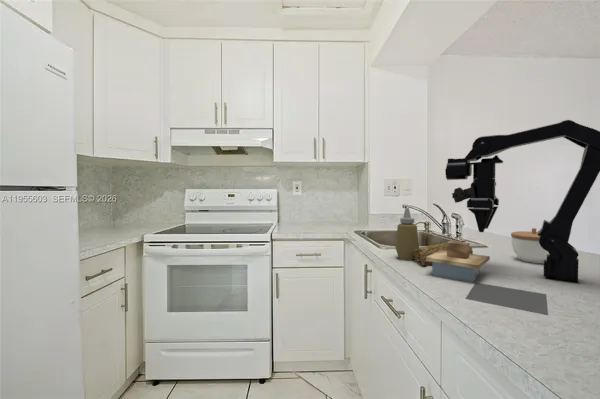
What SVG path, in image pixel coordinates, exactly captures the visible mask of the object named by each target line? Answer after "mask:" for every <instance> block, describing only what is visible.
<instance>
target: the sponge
mask: <svg viewBox="0 0 600 399" xmlns="http://www.w3.org/2000/svg"><path fill="white" fill-rule="evenodd" d="M440 250H446V251H447V242H445V243H444V242H440V243H437V244H428V245H425V246H422V247H419V249H415V251H414V256H415V258H416V259H415V260H417V261H418V262H419V263H420V264H421V265H422V266H425V267H426V266H427V267H428V266H432V262H431V261H426V257H427V256H429V255H431V254H434V253H436V252H438V251H440ZM473 251H474V250H473V247H471V246H470V245H469V254H474V252H473Z"/></svg>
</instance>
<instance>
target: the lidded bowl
mask: <svg viewBox="0 0 600 399" xmlns="http://www.w3.org/2000/svg"><path fill="white" fill-rule="evenodd" d="M537 232H538V231H537V228H535V227H532V228H531V231H512V232H511V233H510V235H511V246H512V249H513V252H514V254H516V256H517V257H518V258H519V259H520V261H523V262H527V263H533V264H544V260H547V254H548V255H550V254H549V252H548V251H546V250H544V249H543V248H542V247H541V245H540V244H539V236H538V233H537Z"/></svg>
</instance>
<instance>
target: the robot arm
mask: <svg viewBox="0 0 600 399" xmlns="http://www.w3.org/2000/svg"><path fill="white" fill-rule="evenodd" d="M561 138H564V139H565V140H568V141H569V142H572V143H573V144H575V145H577V146H579V147H581V148H583V152H582V156H581V162H580V165H579V169H578V171H577V173H576V175H575V176H574V179H573V181H572V182H571V184H570V186H569V189H568V190H567V191H566V195H565V196H564V198H563V201H562V202H561V204H560V206H559V208H558V209H557V212H556V214H555V215H554V216H553V218H551V220H550V221H548V220H546V219H544V220H543V221H542V224H541V228H540V229H539V230H538V231H536V232H537V233H538V236H539V244H540V245H541V247H542V248H543V249H544V250H546V251H548V252H549V254H550V255H548V254H547V260H544V263H543V276H544V277H545V279H546V280H551V281H558V282H565V283H572V284H580V281H579V260H580V259H579V258H578V257H579V255H580V254H579V253H578V251H577V249H576V247H574V246H573V245H572V244H570V242H569V240H570V236H571V233H572V226H573V223H574V221H575V218H576V216H577V215H578V213H579V211H580V209H581V208H582V206H583V204H584V202H585V200H586V198H587V197H588V194H589V193H590V191H591V189H592V187H593V185H594V183H595V182H596V180H597V178H598V176H599V175H600V130H597V129H595V128H592V127H590V126H586V125H583V124H579V123H577V122H576V121H573V120H571V119H565V120H562V121H560V122H556V123H553V124H552V123H551V124H548V125H543V126H539V127H536V128H531V129H527V130H522V131H517V132H514V133H510V134H497V135H496V134H493V135H483V136H479V137H477V138H476V139H475V140H474V141H473V142H472V147H471V149H470V151H469V152H468V153H467V155H465V156H464V158H447V163H446V167H445V178H446V180H447V181H453V180H456V181H458V180H461V181H462V180H468V177H471V176H473V177H472V182H471V183H470V187H468V188H465V189H463V188H462V187H457V188H454V190H453V192H452V193H451V194H452V195H451V197H452V198H453V200H454V203H455V204H457V203H460V202H463V201H465V200H467V201H466V208H468V211H470V212H471V213H472V214H473V215H474V217H475V221H476V225H477V226H476V227H477V230H478V232H479V233H484V232H485V229H486V230H487V229H488V228H489V226H490V224H491V222H492V220H493V218H494V216H495V214H496V212H497V210H498V208H499V205H500V203H499V202H500V199H499V198H498V197H497V195H496V186H497V182H496V165H497V164H503V163H504V160H502V159H501V158H500V157H499V155H498V154H499V153H502V152H504V151H507V150H509V149H513V148H517V147H521V146H526V145H533V144H536V143H541V142H544V141H549V140H550V141H551V140H555V139H561ZM491 156H493V157H491ZM488 157H489V158H488ZM479 160H480V161H479ZM472 170H473V171H472Z"/></svg>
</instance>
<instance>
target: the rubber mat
mask: <svg viewBox="0 0 600 399" xmlns="http://www.w3.org/2000/svg"><path fill="white" fill-rule="evenodd" d="M547 299H548V298H547V294H546V293H541V292H536V291H530V290H522V289H518V288H517V289H516V288H511V287H506V286H505V287H504V286H499V285H493V284H487V283H481V282H475V283H474V284H473V286H472V287H471V289H470V290H469V292H468V294H467V295H466V297H465V300H469V301H475V302H480V303H483V304H490V305H495V306H500V307H505V308H510V309H515V310H519V311H520V310H521V311H525V312H530V313H535V314H541V315H544V316H549V310H548V300H547Z"/></svg>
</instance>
